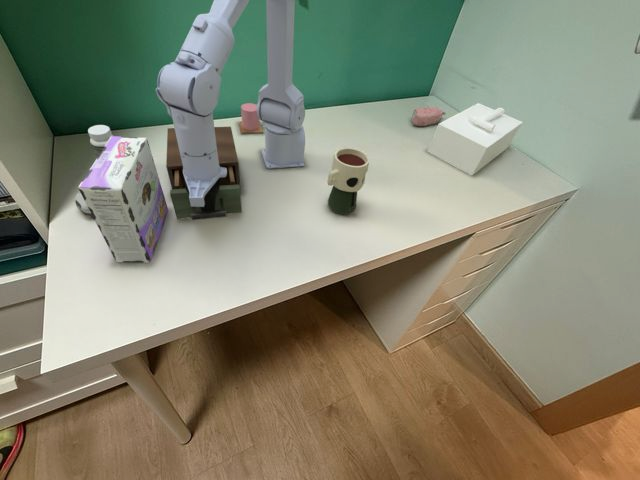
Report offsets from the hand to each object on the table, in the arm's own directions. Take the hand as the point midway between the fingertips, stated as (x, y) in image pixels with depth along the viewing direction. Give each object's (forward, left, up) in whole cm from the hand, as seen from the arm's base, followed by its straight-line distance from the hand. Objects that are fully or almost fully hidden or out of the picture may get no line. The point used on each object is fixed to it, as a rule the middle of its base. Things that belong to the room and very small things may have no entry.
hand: (208, 210), depth 62 cm
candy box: (+12, +1, -4) cm, 13 cm away
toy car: (+18, -10, -4) cm, 21 cm away
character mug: (-28, -1, -4) cm, 28 cm away
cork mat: (-13, -37, -4) cm, 40 cm away
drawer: (0, -6, -3) cm, 7 cm away
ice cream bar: (-71, -38, -4) cm, 81 cm away
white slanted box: (-76, -21, -4) cm, 79 cm away
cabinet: (0, -16, -4) cm, 17 cm away
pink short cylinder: (-13, -38, -3) cm, 40 cm away
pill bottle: (+20, -23, -4) cm, 31 cm away
